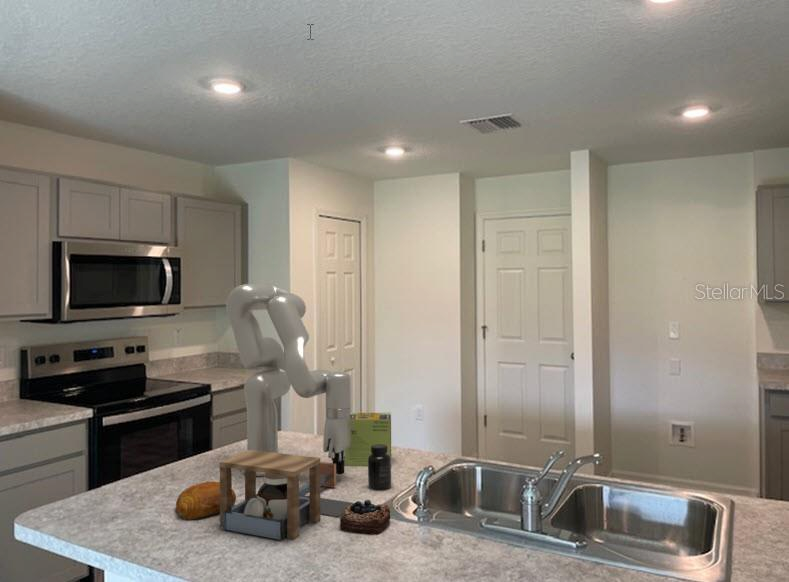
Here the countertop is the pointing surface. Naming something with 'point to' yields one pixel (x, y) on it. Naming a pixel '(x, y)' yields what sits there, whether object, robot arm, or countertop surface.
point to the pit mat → (332, 507)
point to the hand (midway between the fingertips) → (338, 473)
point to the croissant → (200, 500)
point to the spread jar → (270, 498)
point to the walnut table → (279, 466)
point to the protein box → (367, 436)
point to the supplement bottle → (379, 468)
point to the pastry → (365, 518)
